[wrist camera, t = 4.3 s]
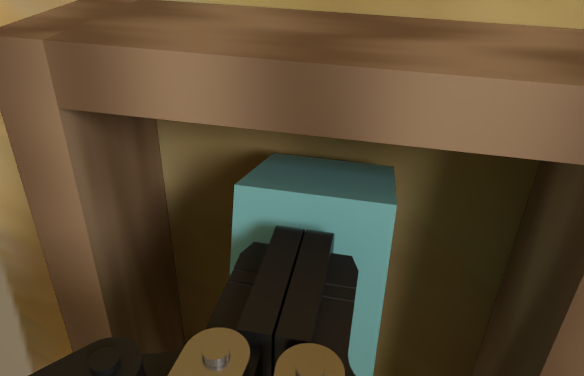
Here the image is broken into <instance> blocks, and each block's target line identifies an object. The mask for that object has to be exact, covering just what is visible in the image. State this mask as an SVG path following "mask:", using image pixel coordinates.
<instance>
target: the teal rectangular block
mask: <svg viewBox="0 0 584 376" xmlns="http://www.w3.org/2000/svg"><path fill="white" fill-rule="evenodd" d="M396 209H397V199H396V187H395V175H394V167H393V166H384V165H375V164H366V163H358V162H349V161H340V160H332V159H323V158H314V157H305V156H297V155H288V154H279V153H273V154H272V155H270V156H269V157H268V158H267V159H265V160H264V161H263V162H262V163H261V164H259V165H258V166H257V167H256V168H254V169H253V170H252V171H251V172H249V173H248V174H247V175H246V176H244V177H243V178H242V179H241V180H240V181H238V182H237V183H236V184H235V185H234V200H233V220H232V239H231V258H230V275H231V273H232V271H233V270H234V266H235V264H236V262H237V259H238V257H239V255H240V253H241V252H242V251H244V250H245V249H246V248H247V247H248V246H249V245H251V244H252V243H253V242H260V243H266V244H269V242H270V240H271V237H272V235H273V232H274V229H275V227H276V226H277V225H280V226H287V227H294V228H301V229H305V231H306V229H309V230H316V231H323V232H330V233H334V248H333V253H335V254H342V255H349V256H352V257H353V259H354V262H355V264H356V266H357V268H358V271H359V272H358V280H357V288H356V296H355V303H354V311H353V319H352V327H351V335H350V342H349V350H348V359H349V363H350V366H351V369H352V370H353V372H354V374H355V375H356V376H373V372H374V365H375V358H376V351H377V344H378V336H379V329H380V322H381V315H382V308H383V301H384V294H385V287H386V280H387V273H388V266H389V258H390V251H391V244H392V237H393V230H394V223H395V216H396Z"/></svg>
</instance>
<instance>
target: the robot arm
mask: <svg viewBox="0 0 584 376" xmlns="http://www.w3.org/2000/svg"><path fill="white" fill-rule="evenodd" d="M333 248H334V233H330V232H323V231H316V230H309V229H306V231H305V229H301V228H294V227H287V226H280V225H277V226H276V227H275V229H274V232H273V235H272V237H271V240H270V242H269V244H266V243H260V242H253V243H252V244H251V245H249V246H248V247H247V248H246V249H245V250H244V251H242V252H241V253H240V255H239V257H238V259H237V262H236V264H235V266H234V270H233V271H232V273H231V275H230V277H229V280H228V283H227V284H226V286H225V288H224V291H223V293H222V295H221V297H220V300H219V302H218V304H217V306H216V309H215V311H214V313H213V315H212V317H211V320H210V322H209V324H208V326H207V328H206V330H204V331H201V332H199V333H198V334H196V335H195V336H193V337H192V338H191V339H190V340H189V341H188V342H187V344H186V345H185V346H184V348H182V349H179V350H175V351H170V352H161V353H152V354H142V355H141V351H140V349H139V347H138V346H137V345H136V344H135V343H134V342H132V341H131V340H128V339H126V338H121V337H109V338H104V339H100V340H97V341H95V342H93V343H91V344H89V345H87V346H85V347H83V348H81V349H79V350H77V351H75V352H73V353H71V354H69V355H68V356H66V357H64V358H62V359H60V360H58V361H56V362H54V363H52V364H50V365H48V366H46V367H44V368H42V369H40V370H39V371H37V372H35V373H33V374H31V375H29V376H356V375H355V374H354V372H353V370H352V369H351V366H350V363H349V359H348V350H349V342H350V335H351V327H352V319H353V311H354V303H355V296H356V288H357V280H358V272H359V271H358V268H357V266H356V264H355V262H354V259H353V257H352V256H349V255H342V254H335V253H333Z"/></svg>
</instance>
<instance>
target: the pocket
mask: <svg viewBox="0 0 584 376" xmlns="http://www.w3.org/2000/svg"><path fill="white" fill-rule="evenodd" d="M0 110H1V113H2V117H3V120H4V123H5V127H6V130H7V133H8V137H9V140H10V143H11V147H12V150H13V153H14V157H15V160H16V163H17V167H18V170H19V173H20V177H21V180H22V183H23V187H24V190H25V193H26V197H27V200H28V203H29V207H30V210H31V213H32V217H33V220H34V223H35V227H36V230H37V233H38V237H39V240H40V243H41V247H42V250H43V254H44V257H45V260H46V264H47V267H48V270H49V274H50V277H51V280H52V284H53V287H54V290H55V294H56V297H57V300H58V304H59V307H60V310H61V314H62V317H63V320H64V324H65V327H66V330H67V334H68V337H69V340H70V344H71V347H72V350H73V352H75V351H77V350H79V349H81V348H83V347H85V346H87V345H89V344H91V343H93V342H95V341H97V340H100V339H104V338H109V337H121V338H126V339H128V340H131V341H132V342H134V343H135V344H136V345H137V346H138V347H139V349H140V351H141V355H142V354H152V353H161V352H170V351H175V350H179V349H182V348H184V346H185V345H184V337H183V329H182V321H181V313H180V305H179V298H178V290H177V282H176V274H175V266H174V258H173V250H172V242H171V234H170V227H169V219H168V211H167V203H166V195H165V187H164V179H163V171H162V163H161V156H160V148H159V140H158V132H157V124H156V119H162V120H172V121H181V122H190V123H200V124H209V125H218V126H227V127H237V128H246V129H255V130H264V131H274V132H283V133H292V134H302V135H311V136H320V137H329V138H339V139H348V140H357V141H366V142H376V143H385V144H394V145H403V146H413V147H422V148H431V149H441V150H450V151H459V152H468V153H478V154H487V155H496V156H505V157H515V158H524V159H533V160H541V162H540V165H539V169H538V172H537V175H536V178H535V181H534V184H533V187H532V190H531V193H530V196H529V199H528V202H527V206H526V209H525V212H524V215H523V218H522V221H521V224H520V227H519V230H518V233H517V236H516V239H515V242H514V246H513V249H512V252H511V255H510V258H509V261H508V264H507V267H506V270H505V273H504V276H503V279H502V283H501V286H500V289H499V292H498V295H497V298H496V301H495V304H494V307H493V310H492V313H491V316H490V320H489V323H488V326H487V329H486V332H485V335H484V338H483V341H482V344H481V347H480V350H479V353H478V357H477V360H476V363H475V366H474V369H473V372H472V375H471V376H584V30H583V29H569V28H554V27H540V26H525V25H511V24H496V23H482V22H467V21H453V20H438V19H424V18H409V17H395V16H380V15H366V14H351V13H337V12H322V11H308V10H293V9H278V8H264V7H249V6H235V5H220V4H206V3H191V2H177V1H162V0H78V1H75V2H72V3H69V4H66V5H63V6H60V7H57V8H54V9H51V10H48V11H45V12H42V13H39V14H37V15H34V16H31V17H28V18H25V19H22V20H19V21H16V22H13V23H10V24H7V25H4V26H1V27H0Z"/></svg>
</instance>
